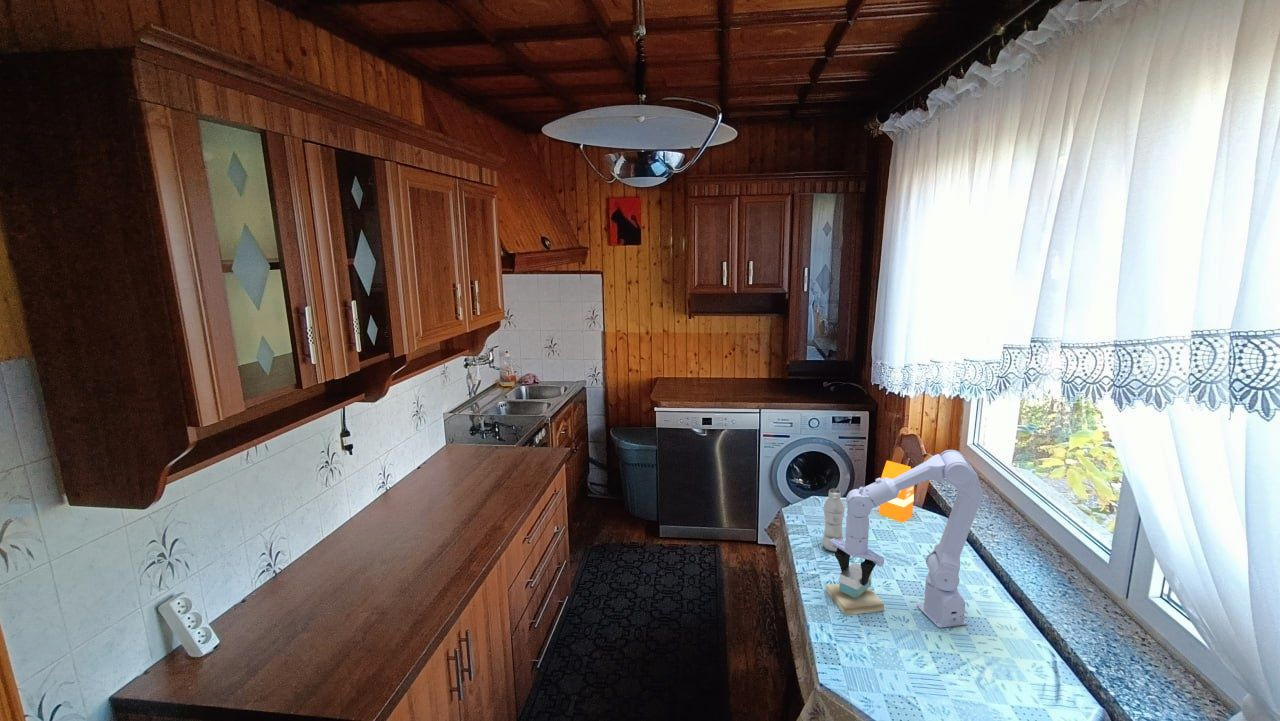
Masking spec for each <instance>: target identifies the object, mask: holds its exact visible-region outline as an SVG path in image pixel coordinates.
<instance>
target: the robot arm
mask: <svg viewBox="0 0 1280 721" xmlns="http://www.w3.org/2000/svg"><path fill="white" fill-rule="evenodd" d="M928 480H931V481H933V482H934V481H935V482H937V483H941V484H944V483H945V480H946V481H947V483H949V484H950V485H952V486H953V487H954V488H956V489H957V494H956V498H955V500H954V502H953V505H952V508H951V511H950V514H949V516H948V519H947V522H946V524H945V526H944V529H943V532H942V534H941V538H940V541H939V543H938V544H936V545H935V546H934V547H933V550H932V551H931V552H930V553H928V555H927V556H926V559H925V564H926V567H927V568H928V570H929V571H928V573H927V575H926V576H925V584H924V586H925V587H924V602H922V603H917V604H916V607H917V608H918V609H919V610H920V611H921V612H922V613H923V614H924V615H925V616H926V617H927V618H928V619H929V620H930V621H931V622H932V623H933V624H934V625H935V626H936V627H937V628H947V627H948V628H949V627H957V626H965V625H967V623H968V622H967V621H965V610H966V601H965V599H964V598H963V596H962V595H961V593H960V592H959V590H958V586H959V585H960V575H959V574H960V570H961V555H962V552H963V549H964V547H965V544H966V542H967V539H968V536H969V533H970V531H971V528H972V525H973V523H974V520H975V517H976V515H977V512H978V509H979V507H980V505H981V501H982V499H983V497H984V491H983V488H982V486H981V483H980V479H979V476H978V474H977V472H976V471H975V469H974V468H973V467H972V465H971V463H970V462H969V460H968V459H967V458H966V457H965V455H963V454H962V453H961V452H960V451H958V450H955V449H947V450H944V451H942V452H941V453H940V454H939V453H937V454H934V455H933V456H931V457H930V458H929V459H927V460H925V461H923V462H921V463H920V464H918V465H915V467H913V468H912V467H911V469H910V470H909V471H907V472H905V473H903V474H901V475H899V476H897V477H895V478H894V479H890V478H886V477H885V478H882V479H881V477H878V478H875V482H872V483H870V484H868V485H866V486H859V487H858V488H855V489H851V490H850V491H849V492H848V493H847V495H846V497H845V500H846V502H847V503H846V504H847V510H846V520H845V524H846V525H845V540H843V541H841V540H837V539H834V538H833V539H832V540H830V547H831V548H834V547H835V548H837V551H836V552H834V557H835V558H836V560H837V562H838V565H839V567H840V571H841V572H840V573H842V572H843V571H844V570H846V569H847V568H848V567H849V566H850V558H851V557H855V558H859V559H862V560H863V561H862V562H861V563H860V564H859V565H861V570H862V585H863V586H865V585H866V584H867V583H868V580H869V577H870V574H871V575H872V572H873V570H874V568H875V567H876V566H878V568H879V567H880V568H881V567H882V566H884V565H885V557H884V556H881V555H880V554H879V553H877V552H875V551H873V550H872V549H870V548H869V532H870V530H869V528H870V518H869V515H870V514H871V512H872V510H873V509H875V508H877V507H880V505H882V504H884V503H886V502H888V501H891V500H893V499H895V498H897V497H898V494H899V492H900V491H901V490H904V489H906V488H909V487H911V486H914V487H915V486H916V485H918V484H921V483H924V482H926V481H928Z"/></svg>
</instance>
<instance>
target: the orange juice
mask: <svg viewBox="0 0 1280 721" xmlns="http://www.w3.org/2000/svg"><path fill="white" fill-rule="evenodd" d="M910 469H912V467H911V466H909V465H906V464H902V463H899V462H898V463H897V462H894V461H891V460H886V462H885V464H884V468H883V470H882V474H881V477H880V478H881V479H882V478H885V477H886V478H890V479H894V478H895V477H897V476H899V475H901V474H903V473H905V472H907V471H909V470H910ZM914 496H915V485H914V486H911V487H909V488H906V489H904V490H901V491H900V492H899V494H898V497H897V498H895V499H893V500H891V501H888V502H886V503H884V504H882V505H880V506H878V508H879V511H878V515H879V514H880V515H879V516H881V515H883V516H882V517H884V516H886V517H885V518H887V517H889V518H888V519H890V518H892V519H891V520H893V519H894V520H893V521H896V522H899V523H902V524H903V523H905V522H906V521H907V520H909V519H911V518H912V517H913V512H914V511H913V510H914V501H915V500H914V498H915V497H914Z"/></svg>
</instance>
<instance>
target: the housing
mask: <svg viewBox="0 0 1280 721" xmlns="http://www.w3.org/2000/svg"><path fill="white" fill-rule="evenodd" d="M839 583H840V585H839V591H842V592H844V593H846V594H848V595H850V596H853V597H855V598H858V597H859V596H860V595H861V594H862V593H863V592H864V591H866V590H867V589H868V588H871V585H872V573H871V574H870V577H869V580H868V583H867V584H866V585H865V586H863V585H862V570H861V565H860V564H858V563H856V562H853V563H852V564H851V565H849V567H848V568H847V569H846V570H844V571H843V572H840V573H839Z"/></svg>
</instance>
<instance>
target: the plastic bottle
mask: <svg viewBox="0 0 1280 721" xmlns="http://www.w3.org/2000/svg"><path fill="white" fill-rule="evenodd" d="M841 494H842V493H841V490H840V489H837V488H830V489H829V490H828V498H827V499H826V500H825V501H824V504H823V511H824V532H823V535H822V546H823V547H824V549H825V550H827V551H829V552H833V553H835V552H836V551H837V548H835V547H834V548H831V547H830V540H832V539H833V538H834V539H837V540H841V541H844V537H843V519H844V515H845V514H844V513H845V508H846V507H845V504H844V502H843V500H842V499H841V498H842V495H841Z"/></svg>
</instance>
